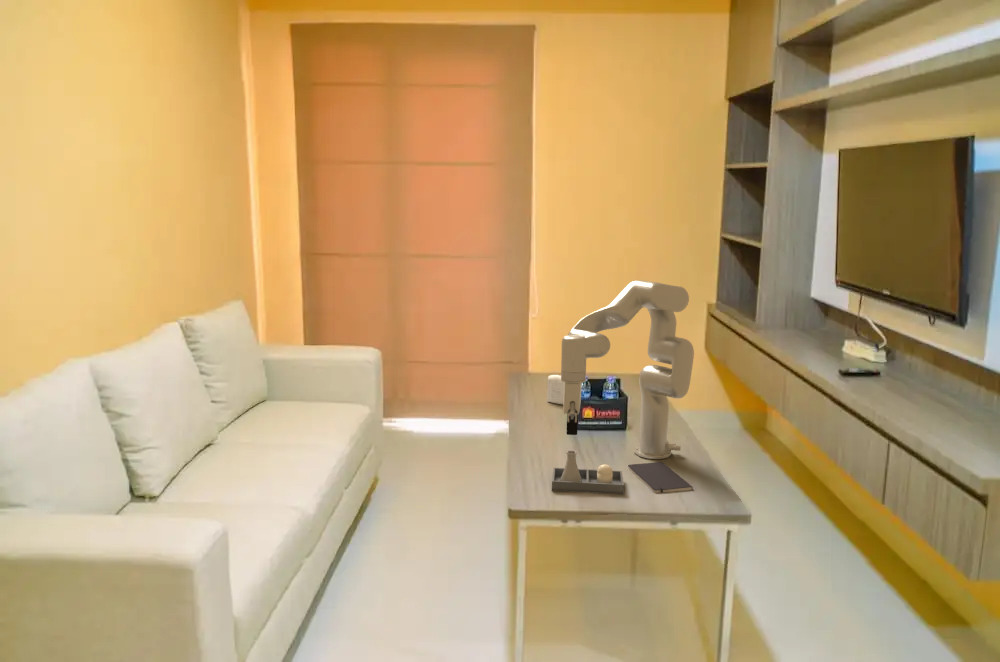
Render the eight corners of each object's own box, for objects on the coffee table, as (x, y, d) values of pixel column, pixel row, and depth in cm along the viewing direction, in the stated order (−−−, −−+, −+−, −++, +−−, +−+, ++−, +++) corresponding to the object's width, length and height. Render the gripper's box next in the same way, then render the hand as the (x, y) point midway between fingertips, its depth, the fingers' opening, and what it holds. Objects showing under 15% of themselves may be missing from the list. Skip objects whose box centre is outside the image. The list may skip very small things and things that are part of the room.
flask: (579, 477, 229) (580, 447, 227) (584, 486, 222) (585, 455, 220) (557, 478, 228) (558, 448, 226) (561, 487, 221) (562, 456, 219)
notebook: (692, 491, 221) (662, 466, 242) (692, 486, 221) (662, 461, 242) (654, 495, 219) (626, 469, 239) (654, 490, 218) (627, 464, 239)
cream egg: (611, 481, 226) (612, 462, 224) (612, 487, 221) (613, 468, 220) (596, 480, 226) (597, 461, 225) (596, 486, 221) (597, 467, 220)
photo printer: (570, 403, 310) (571, 376, 308) (566, 406, 307) (566, 378, 304) (550, 399, 316) (550, 372, 314) (545, 402, 312) (545, 374, 310)
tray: (621, 479, 228) (621, 470, 228) (623, 494, 218) (623, 485, 217) (553, 476, 231) (553, 467, 230) (551, 490, 220) (551, 481, 219)
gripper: (561, 368, 227) (560, 420, 230) (560, 382, 210) (559, 438, 213) (585, 369, 226) (584, 420, 229) (585, 383, 209) (584, 439, 213)
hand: (572, 429), depth 221 cm, fingers open, 9 cm apart
